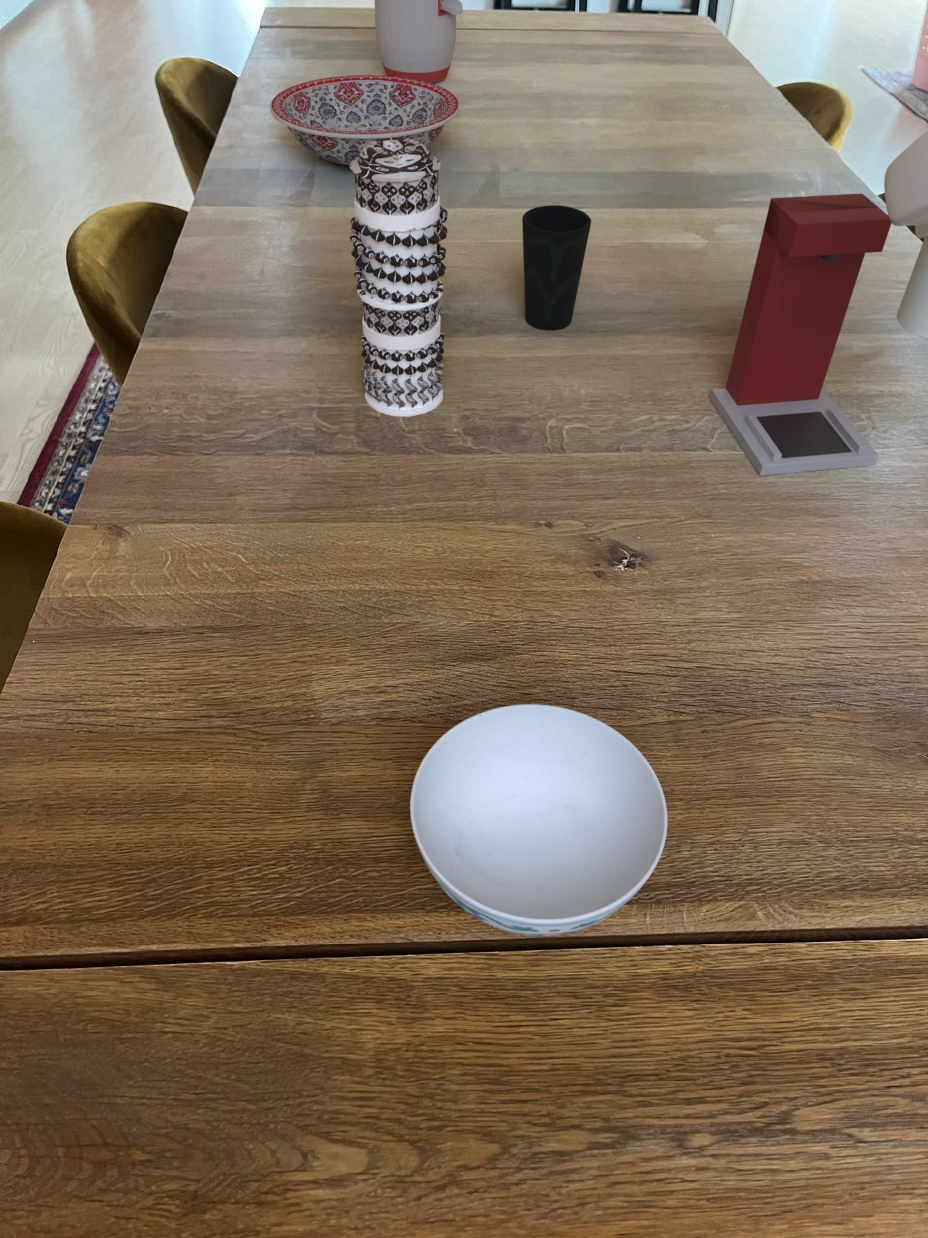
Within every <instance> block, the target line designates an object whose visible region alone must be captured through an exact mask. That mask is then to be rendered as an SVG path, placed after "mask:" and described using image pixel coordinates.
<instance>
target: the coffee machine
mask: <svg viewBox="0 0 928 1238" xmlns="http://www.w3.org/2000/svg"><path fill="white" fill-rule="evenodd" d="M891 226H892V222H891V221H890V219H889V216H888V213H886V211H884V210H883V209H881V208H880V207H879V206H878V205H877V204H875V203H874V202H873V201H872V200H871V199H870V198H869V197H867V196H866V195H865V194H864V193H846V194H845V193H844V194H826V195H825V194H823V195H807V196H785V197H771V198H770V201H769V205H768V208H767V213H766V217H765V222H764V226H763V230H762V235H761V238H760V242H759V247H758V251H757V256H756V259H755V263H754V268H753V272H752V276H751V281H750V285H749V289H748V293H747V297H746V302H745V305H744V309H743V312H742V313H743V314H742V318H741V322H740V326H739V329H738V330H739V331H738V334H737V339H736V342H735V346H734V347H735V348H734V352H733V355H732V360H731V364H730V369H729V372H728V375H727V376H728V377H727V381H726V384H725V387H723V388H712V389H711V393H710V396H709V397H710V398H709V400H710V402H711V403H712V405H713V406H714V407H715V409H716V411H717V413H718V414H719V415H720V417H721V419H722V420H723V422H724V423H725V424H726V426H727V428H728V429H729V431H730V432H731V434H732V435H733V437H734V438H735V441H736V442H737V443H738V444H739V446H740V448H741V449H742V451H743V452H744V455H746V457H747V458H748V460H749V462H750V463H751V465H752V466H753V467H754V469H755V471H756V472H757V474H758V476H760V477H763V476H773V475H775V476H776V475H786V474H795V473H797V474H798V473H806V472H817V471H818V472H819V471H829V470H839V469H841V470H842V469H850V468H863V467H873V466H876V463H877V461H878V458H879V454H878V453H877V452H876V450H875V449H874V448H873V447H872V446H871V444H870V443H869V442H868V440H866V438H865V436H863V434H862V433H861V432H860V431H859V430H858V428H857V427H856V426H855V425H854V423H853V422H852V421H851V420H850V419H849V417H848V416H847V415H846V414H845V412H843V410H842V409H841V408H840V406H839V405H838V404H837V403H836V401H835V400H834V399H833V398H832V396H831V395H830V394H829V393H828V392H827V391H826V390H825V388H824V387H823V386H824V383H825V380H826V377H827V374H828V370H829V368H830V364H831V361H832V357H833V355H834V352H835V349H836V346H837V342H838V339H839V336H840V333H841V330H842V327H843V324H844V320H845V318H846V314H847V311H848V309H849V305H850V302H851V299H852V295H853V292H854V289H855V286H856V283H857V280H858V277H859V274H860V271H861V268H862V265H863V261H864V258H865V255H866V254H870V253H883V250H884V247H885V243H886V241H887V238H888V235H889V233H890V230H891Z"/></svg>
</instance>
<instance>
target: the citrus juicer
mask: <svg viewBox="0 0 928 1238" xmlns="http://www.w3.org/2000/svg"><path fill="white" fill-rule="evenodd" d="M463 12H464V7H463V3H462V1H461V0H374V22H375V34H376V42H377V47H378V53H379V56H380V59H381V65H382V68H383V70H384V73H385V76H395V77H404V78H410V79H416V80H420V81H424V82H428V83H432V84H434V83H437V82H441V81H443V80H445V79H446V78H447V76H448V74H449V71H450V69H451V65H452V60H453V56H454V52H455V45H456V38H457V16H459V15H461V14H462V13H463Z"/></svg>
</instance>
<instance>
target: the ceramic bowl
mask: <svg viewBox="0 0 928 1238" xmlns="http://www.w3.org/2000/svg"><path fill="white" fill-rule="evenodd" d="M460 109H461V104H460V99H458V97H457V96H456V95H455V93H453V92H451V91H450V90H448V89H447V88H444V87H442V86H440V85H438V84H434V83H428V82H424V81H420V80H416V79H410V78H404V77H395V76H387V75H383V74H381V75H380V74H379V75H377V74H355V75H353V74H352V75H340V76H331V77H323V78H319V79H313V80H309V81H305V82H302V83H299V84H296V85H293V86H291V87H288V88H285V89H284V90H282V91H280V92H279V93H277V94H276V95H275V96H274V97H273V98H272V100H271V102H270V104H269V110H270V113H271V115H272V116H273V118H274V119H275V120H276V121H277V122H279V123H280V124H282V125H283V126H286V127H287V128H288V130H289V131H290V133H291V134H292V135H293V137H294V138H295V139H296V140H297V141H298V142H299V144H301V145H302V146H304V148H305V149H307V150H308V151H309V152H310V153H313V154H314V155H315V156H317V157H320V158H321V159H323V160H326V161H329V162H331V163H335V164H340V165H345V166H350V164H351V161H352V160H354V159H355V158H357V157H358V156H359V155H360V153H361V151H362V149H363V147H364V146H365V145H367V144H368V143H370V142H372V141H375V140H379V139H383V138H407V139H412V140H415V141H418V142H420V143H422V144H423V145H424V146H425V147H426V148H427V149H428V147H430V146H431V145H433V143H434V142H435V141H436V139H438V137H439V135H440V134H441V132H442V131H443V129H444V127H445V125H446V124H448V123H450V122H451V121H453V120H454V119H455V118H456V117H457V116H458V115H459V112H460Z"/></svg>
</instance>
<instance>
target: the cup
mask: <svg viewBox="0 0 928 1238" xmlns="http://www.w3.org/2000/svg"><path fill="white" fill-rule="evenodd" d="M521 220H522V221H521V224H522V225H521V226H522V254H523V255H522V256H523V257H522V259H523V286H524V287H523V289H524V290H523V291H524V318H525V319H524V320H525V322H526V323H527V324H528V325H529V326H530V327H532V328H535V329H537V330H541V331H559V330H564V329H565V328H568V327H569V326H570V325H571V324H572V320H573V316H574V310H575V305H576V300H577V295H578V291H579V285H580V280H581V276H582V271H583V265H584V260H585V255H586V252H587V245H588V240H589V236H590V231H591V227H592V219H591V217H590V215H588V214H587V213H586V212H585V211H583V210H581V209H578V208H575V207H571V206H567V205H541V206H536V207H533V208H531V209H529V210H527V211H526V212H525V213H524V214H523V215H522V218H521Z"/></svg>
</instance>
